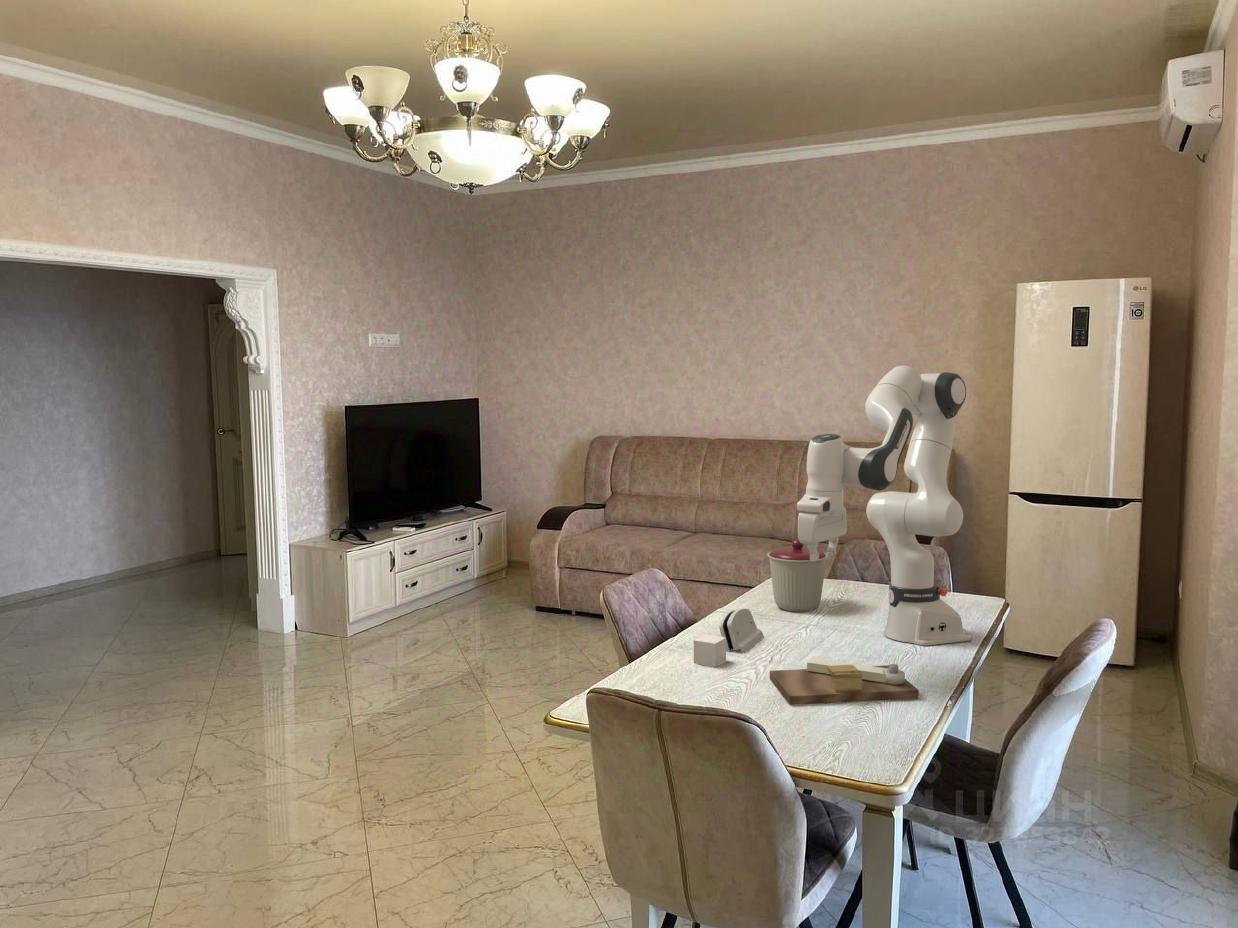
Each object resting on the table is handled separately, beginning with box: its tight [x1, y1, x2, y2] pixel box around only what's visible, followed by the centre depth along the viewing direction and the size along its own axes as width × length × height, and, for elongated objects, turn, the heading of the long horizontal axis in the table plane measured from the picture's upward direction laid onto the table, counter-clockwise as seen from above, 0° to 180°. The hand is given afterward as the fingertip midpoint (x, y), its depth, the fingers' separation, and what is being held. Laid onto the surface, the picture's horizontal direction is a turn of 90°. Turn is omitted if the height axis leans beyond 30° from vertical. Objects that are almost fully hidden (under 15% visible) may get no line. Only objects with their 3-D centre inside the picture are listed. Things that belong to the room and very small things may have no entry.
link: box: [806, 657, 906, 685], centre depth 212 cm, size 22×5×4 cm, turn 60°
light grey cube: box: [693, 633, 727, 668], centre depth 230 cm, size 6×6×6 cm
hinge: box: [718, 608, 765, 654], centre depth 245 cm, size 17×5×10 cm, turn 153°
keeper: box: [827, 665, 862, 692], centre depth 205 cm, size 6×6×4 cm
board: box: [769, 664, 920, 706], centre depth 210 cm, size 29×17×2 cm, turn 95°
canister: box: [766, 538, 829, 613], centre depth 279 cm, size 18×18×21 cm
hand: (822, 557), depth 224 cm, fingers open, 8 cm apart
